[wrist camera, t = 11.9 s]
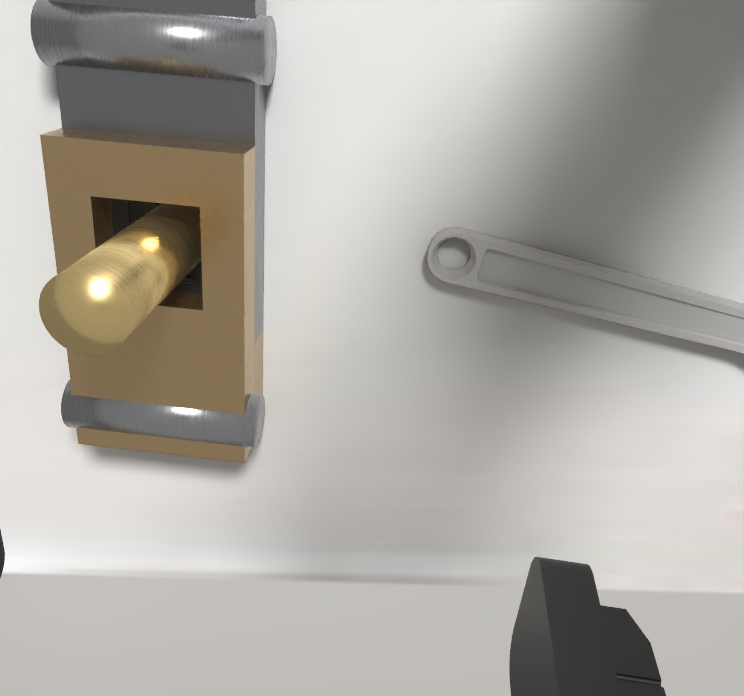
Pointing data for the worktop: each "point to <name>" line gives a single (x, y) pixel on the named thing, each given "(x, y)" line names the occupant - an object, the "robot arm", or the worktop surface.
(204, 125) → the brass frame with rod
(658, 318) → the adjustable wrench
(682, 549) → the worktop surface
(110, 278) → the pin
